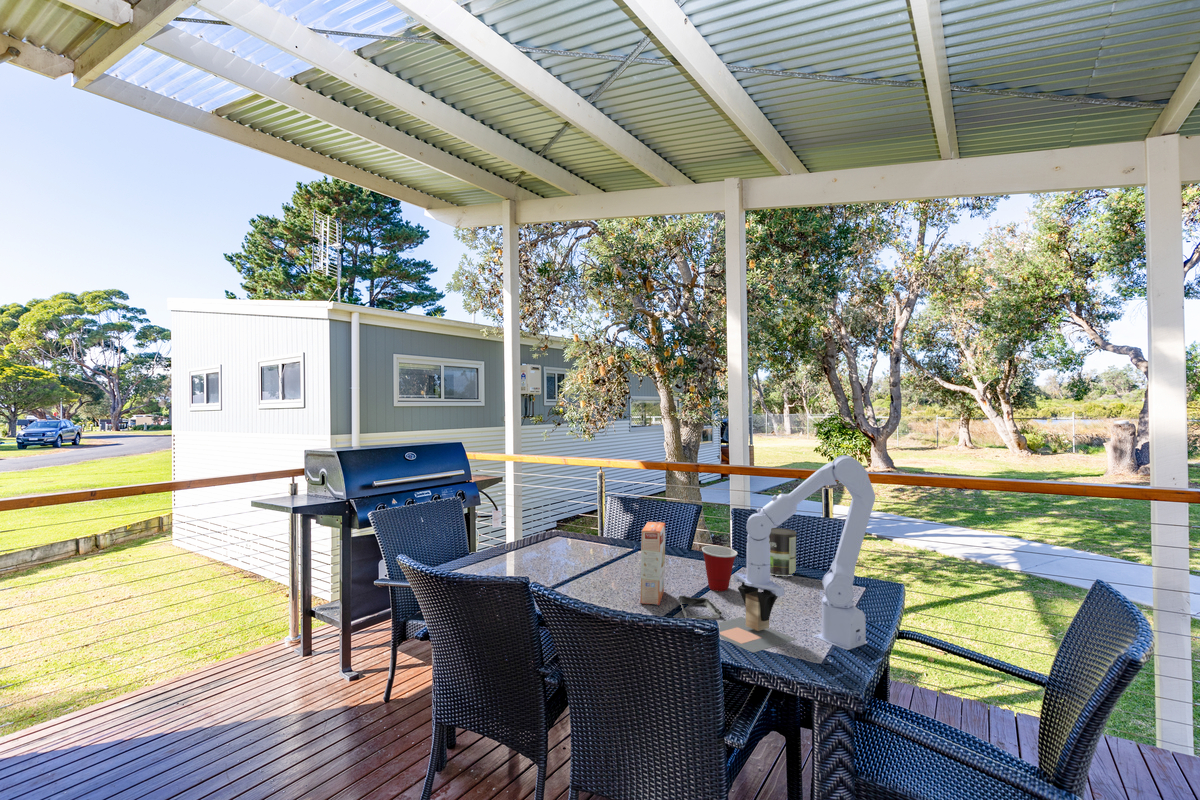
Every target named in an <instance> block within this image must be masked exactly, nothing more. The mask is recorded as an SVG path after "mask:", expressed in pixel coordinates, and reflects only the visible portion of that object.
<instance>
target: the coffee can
mask: <svg viewBox="0 0 1200 800" xmlns="http://www.w3.org/2000/svg"><path fill="white" fill-rule="evenodd" d="M769 544H770V574H771V575H770V576H772V575H778V576H788V575H792V574H793V573H795V571H796V569H797V566H796V565H797V562H796V561H797V557H796V556H797V531H796V530H793V529H790V528H785V527H783V528H782V527H776V528H772V529H771V533H770V535H769ZM796 572H797V571H796Z"/></svg>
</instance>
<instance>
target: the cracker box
mask: <svg viewBox="0 0 1200 800" xmlns="http://www.w3.org/2000/svg"><path fill="white" fill-rule="evenodd" d="M640 542H641V544H640V595H639V596H640V597H639V599H640V604H641V603H642V604H641V605H650V604H657V605H656V606H660V604H661V601H662V598H663V595H664V593H665V569H666V568H665V567H666V565H665V564H666V522H662V521H647V522H646V524H645V525H644V527H643V528H642V529H641V540H640Z"/></svg>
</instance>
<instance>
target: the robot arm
mask: <svg viewBox="0 0 1200 800" xmlns="http://www.w3.org/2000/svg"><path fill="white" fill-rule="evenodd" d="M837 481H838V482H839V483H841V484H842V485H843V486H845V488H846V491H848V493H849V494H850V496H851V501H850V505H849V508H848V511H847V515H846V517H845V522H844V525H843V528H842V533H841V534H840V539H839V542H838V545H837V549H836V553H835V556H834V559H833V561H832V563H831V564H830V567H829V570H828V571H827V572H826V573H825V574H824V575H823V577H822V587H823V589H824V596H823V597H821V632H820V633H817V634H815V635H813V638H814V639H817V640H820V641H823V642H825V643H828V644H830V645H833V646H835V647H838V648H840V649H843V650H846V651H849V650H852V649H854V648H859V647H861V646H863V645H866V644H868V641H867V640H866V638H867V636H866V635H867V634H866V632H867V631H866V630H867V629H866V628H867V626H866V622H867V621H866V615H865V612H864V611H863V610H861V609H859V608H858V607H856V605H854V604H855V603H854V597H855V593H854V587H853V584H854V581H855V571H856V570H855V569H856V565H857V561H858V558H859V555H860V552H861V548H862V545H863V542H864V539H865V535H866V531H867V527H868V525H869V520H870V518H871V514H872V510H873V507H874V504H875V501H876V494H875V490H874V488H873V485H872V482H871V479H870V477H869V473H868V471H867V470H866V468H865V467H864V466H863V464H862V463H860V461H858V460H857V459H856V458H854V457H853V456H850V455H849V454H848V455H847V454H842V455H839V456H837V457H835V458H834V459H833V460H832V461H829V462H828V463H826V464H824V465H823V466H821V467H820V468H818V469H817V470H816V471H815V472H813V473H812V474H811V475H810V476H809V477H807V478H806V479H805V480H804V481H803V482H801V483H800V484H799V485H798V486H797V487H795V488H794V489H793V490H792V491H791V492H789V493H787V494H786V493H779V494H778V495H776V494H773V496H771V500H770V501H769V502H768V503H767V504H765V505H763V507H762V508H761V507H758V508H757V509H756V512H757V513H756V512H755V513H753V514H751V515H750V516H748V519H747V521H746V528H745V529H746V533H747V536H746V540H747V542H746V573H741V572H737V573H734V574H733V582H735V583H740V584H741V585H738V586H737V589H738V592H739V593H740V595H741V597H742V600H743V604H744V606H745V608H746V594H747V593H751V592H755V591H758V592H759V593H757V596H758V599H759V603H760V614H761V621H767V620H769V621H770V617H771V612H772V610H773V607H774V605H775V603H776V601H777V599H778V597H782V596H785V587H784V586H781V585H779V584H778V583H776V582H774V581H773V580H771V575H770V544H769V535H770V533H771V529H772V528H779V526H780V525H782V524H783V523H784V522H786V521H787V520H788V519H790V518H791V517H792V516H793V515H794V514H796V513H797V509H798V504H800V503H802V502H803V501H804V500H806V499H807V498H808V497H810V496H812V495H813V494H814V493H815V492H818V490H820V489H821V488H823V487H825V486H836V485H838V484H837ZM759 590H760V591H759ZM761 590H762V591H761Z"/></svg>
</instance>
